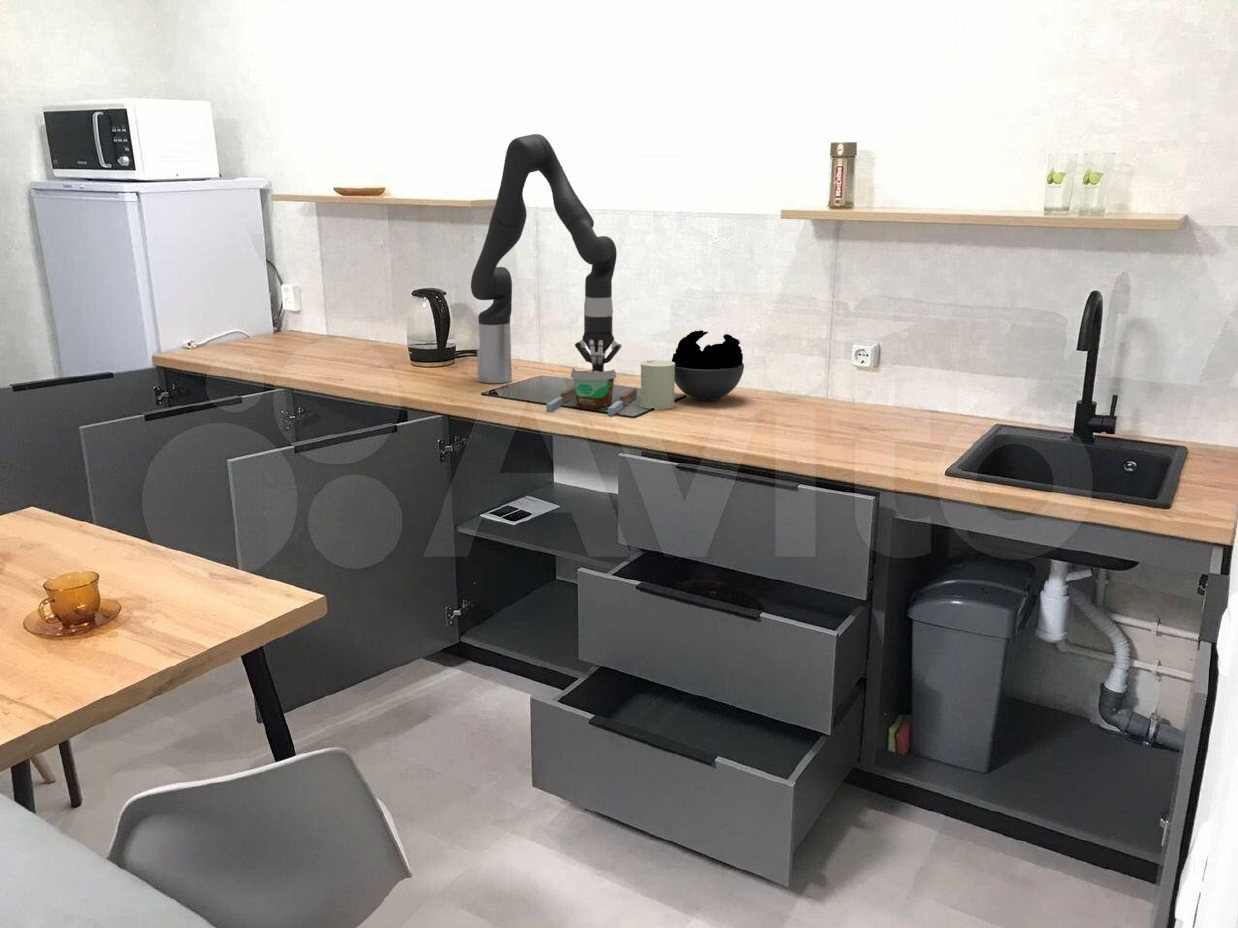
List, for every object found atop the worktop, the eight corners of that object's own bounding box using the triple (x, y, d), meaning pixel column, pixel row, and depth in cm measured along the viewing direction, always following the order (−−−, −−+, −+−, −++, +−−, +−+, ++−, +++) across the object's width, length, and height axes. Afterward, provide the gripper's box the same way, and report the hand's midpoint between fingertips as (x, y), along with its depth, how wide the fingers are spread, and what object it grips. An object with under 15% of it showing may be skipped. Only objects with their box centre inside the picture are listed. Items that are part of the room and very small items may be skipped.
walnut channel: (560, 402, 266) (560, 393, 265) (574, 393, 277) (574, 384, 276) (625, 406, 261) (625, 397, 261) (636, 397, 273) (636, 388, 272)
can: (656, 400, 268) (657, 357, 265) (681, 406, 262) (682, 361, 259) (632, 405, 262) (633, 361, 259) (658, 411, 256) (658, 365, 253)
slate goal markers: (546, 411, 255) (546, 404, 255) (557, 404, 264) (557, 397, 263) (613, 416, 251) (613, 408, 250) (622, 408, 259) (622, 401, 259)
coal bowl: (658, 395, 275) (658, 327, 270) (723, 390, 282) (725, 324, 277) (687, 410, 257) (688, 338, 252) (755, 404, 264) (758, 334, 259)
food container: (565, 409, 259) (564, 371, 256) (572, 404, 264) (571, 367, 261) (610, 411, 256) (610, 373, 253) (616, 406, 261) (616, 369, 258)
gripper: (570, 314, 260) (570, 379, 265) (618, 316, 257) (618, 382, 262) (578, 310, 267) (578, 373, 272) (626, 313, 264) (625, 376, 269)
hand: (598, 377), depth 267 cm, fingers closed
